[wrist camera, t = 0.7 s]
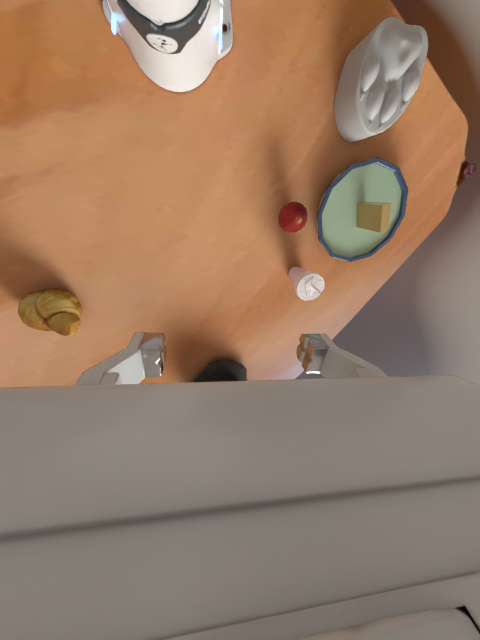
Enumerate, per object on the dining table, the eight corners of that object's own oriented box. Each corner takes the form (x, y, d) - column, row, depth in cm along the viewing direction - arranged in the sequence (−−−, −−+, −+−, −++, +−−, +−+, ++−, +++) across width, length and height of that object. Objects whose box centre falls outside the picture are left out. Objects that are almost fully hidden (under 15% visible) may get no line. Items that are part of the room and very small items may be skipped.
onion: (280, 197, 48) (293, 197, 41) (303, 206, 50) (320, 208, 43) (270, 225, 50) (281, 230, 44) (292, 233, 52) (306, 239, 45)
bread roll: (33, 322, 54) (8, 341, 47) (16, 284, 49) (-14, 299, 42) (91, 321, 56) (75, 340, 49) (80, 285, 51) (61, 299, 44)
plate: (313, 175, 45) (334, 171, 38) (408, 148, 45) (448, 139, 38) (318, 268, 55) (336, 280, 48) (396, 246, 55) (426, 254, 48)
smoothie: (310, 262, 56) (339, 281, 44) (303, 286, 59) (328, 310, 47) (286, 260, 55) (309, 278, 43) (280, 284, 58) (300, 308, 46)
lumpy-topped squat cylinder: (401, 55, 39) (447, 23, 32) (371, 146, 46) (404, 137, 38) (348, 40, 38) (384, 2, 30) (325, 137, 44) (349, 125, 36)
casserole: (199, 351, 65) (199, 371, 58) (258, 361, 70) (264, 380, 63) (182, 409, 76) (180, 432, 68) (234, 414, 81) (237, 436, 73)
